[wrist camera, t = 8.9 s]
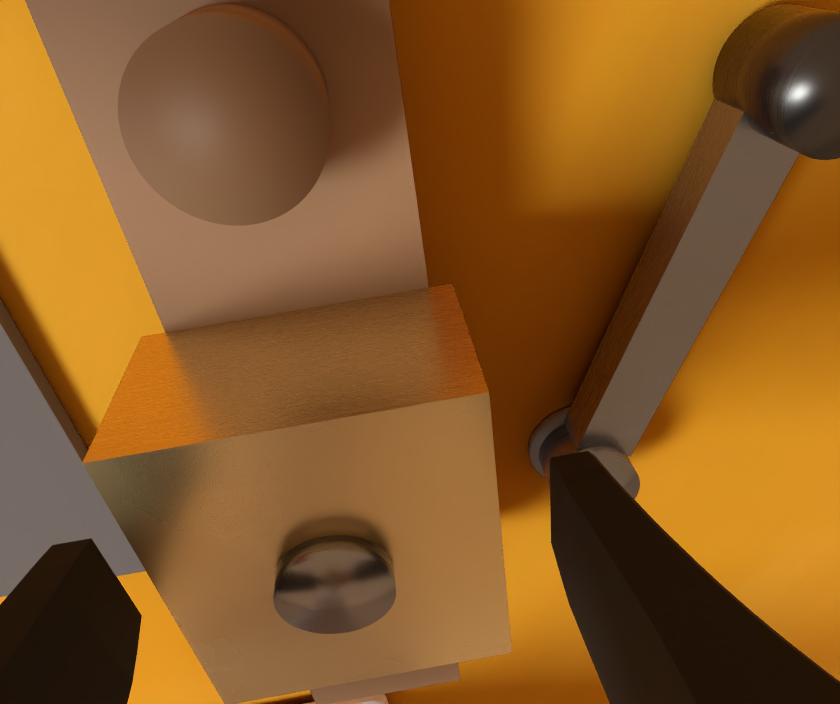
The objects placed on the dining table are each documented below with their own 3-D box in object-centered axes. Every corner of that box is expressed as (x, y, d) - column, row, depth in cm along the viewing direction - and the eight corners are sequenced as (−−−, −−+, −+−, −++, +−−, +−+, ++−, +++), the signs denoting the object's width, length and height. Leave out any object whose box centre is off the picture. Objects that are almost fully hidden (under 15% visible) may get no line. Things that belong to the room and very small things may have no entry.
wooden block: (479, 523, 14) (517, 673, 11) (245, 565, 14) (222, 728, 11) (452, 283, 11) (495, 411, 8) (141, 336, 10) (70, 486, 8)
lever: (845, 20, 11) (946, 38, 9) (597, 481, 17) (629, 548, 15) (748, -11, 11) (834, 2, 9) (527, 474, 16) (552, 542, 15)
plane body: (615, 500, 18) (686, 643, 14) (300, 556, 18) (292, 715, 14) (653, -115, 10) (833, -141, 6) (85, -26, 10) (-56, 0, 6)
